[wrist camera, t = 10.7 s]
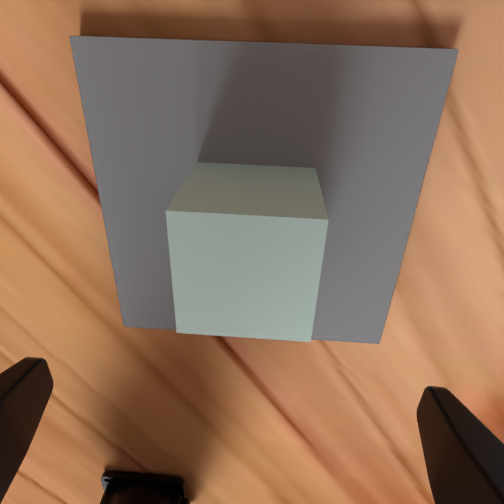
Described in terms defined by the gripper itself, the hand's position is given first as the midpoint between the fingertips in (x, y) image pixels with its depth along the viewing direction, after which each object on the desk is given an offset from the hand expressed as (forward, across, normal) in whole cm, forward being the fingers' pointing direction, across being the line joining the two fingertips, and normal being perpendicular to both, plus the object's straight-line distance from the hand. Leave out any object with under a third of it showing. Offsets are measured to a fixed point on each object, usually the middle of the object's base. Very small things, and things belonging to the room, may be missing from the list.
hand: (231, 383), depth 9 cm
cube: (+9, 0, 0) cm, 9 cm away
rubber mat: (+10, 0, 0) cm, 10 cm away
